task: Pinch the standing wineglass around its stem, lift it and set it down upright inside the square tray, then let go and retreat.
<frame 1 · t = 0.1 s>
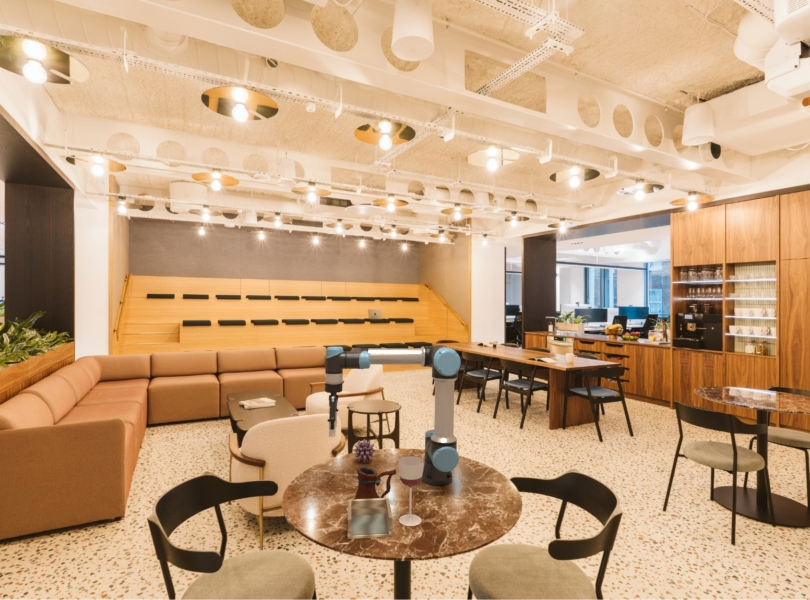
hand: (332, 431, 178), 28 cm above the table, fingers open, 13 cm apart
brown pitcher: (374, 504, 172), on the table
wineglass: (410, 520, 159), on the table
flower: (364, 462, 217), on the table
square tray: (369, 526, 154), on the table
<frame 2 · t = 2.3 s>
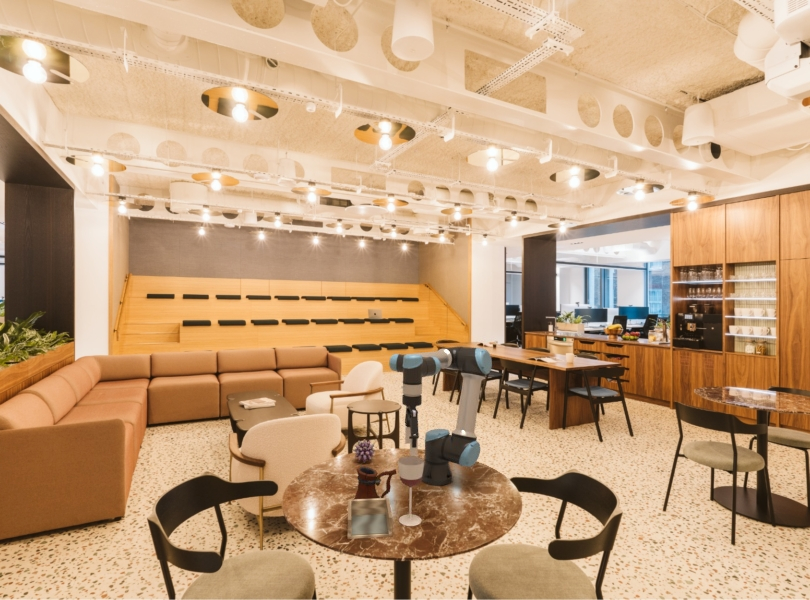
hand: (411, 449, 159), 27 cm above the table, fingers open, 13 cm apart
nothing on the table moved.
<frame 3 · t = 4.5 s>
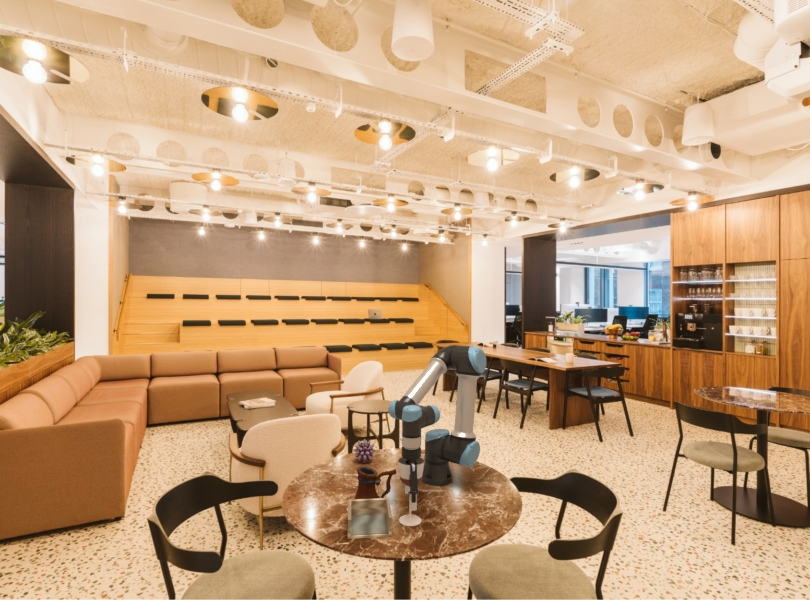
hand: (410, 501, 159), 7 cm above the table, fingers open, 13 cm apart
nothing on the table moved.
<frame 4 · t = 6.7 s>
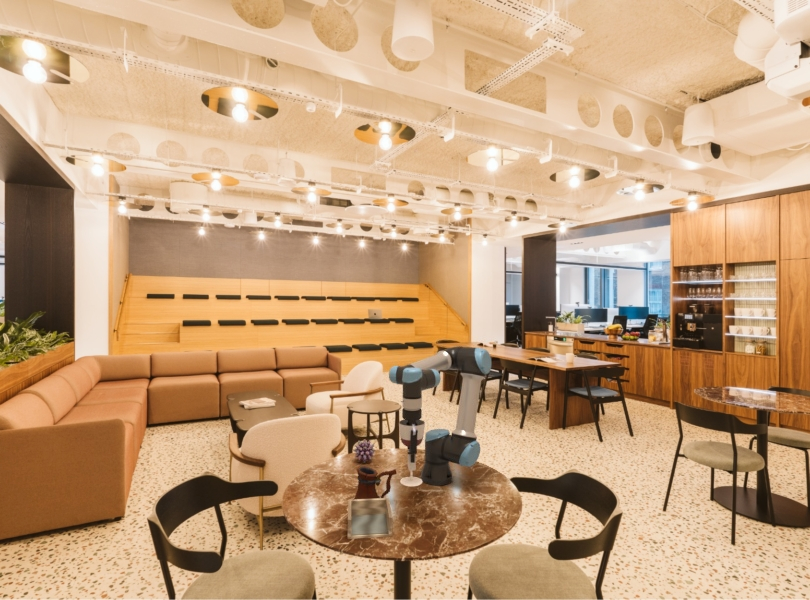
hand: (411, 468, 160), 20 cm above the table, fingers open, 2 cm apart
wineglass: (411, 481, 160), point 15 cm above the table, touching hand
everything else where it was.
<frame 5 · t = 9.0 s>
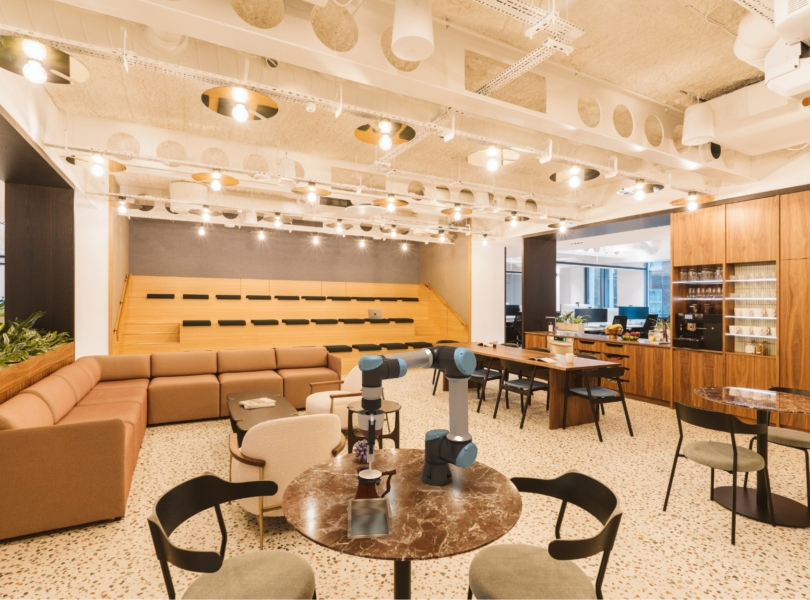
hand: (370, 460, 153), 25 cm above the table, fingers open, 2 cm apart
wineglass: (370, 474, 153), point 20 cm above the table, touching hand
everything else where it was.
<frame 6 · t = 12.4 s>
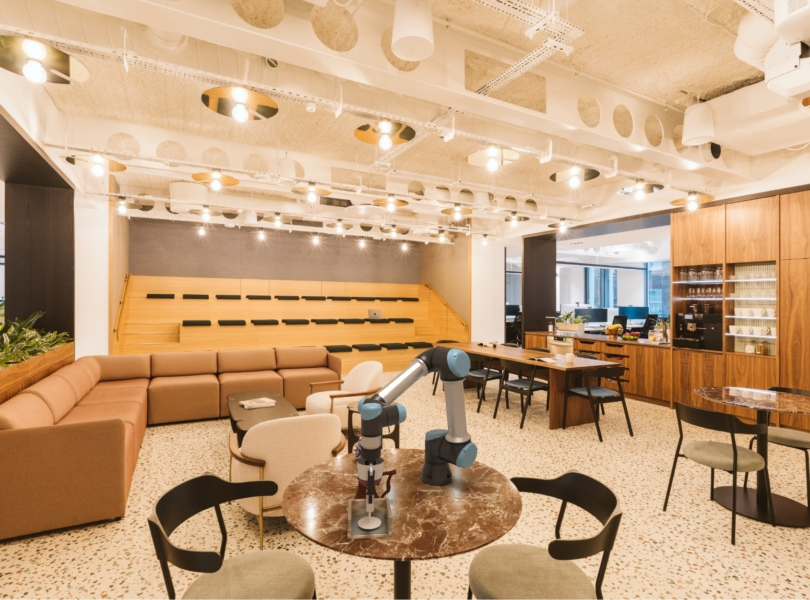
hand: (369, 509, 153), 7 cm above the table, fingers open, 2 cm apart
wineglass: (369, 523, 153), point 2 cm above the table, touching hand
everything else where it was.
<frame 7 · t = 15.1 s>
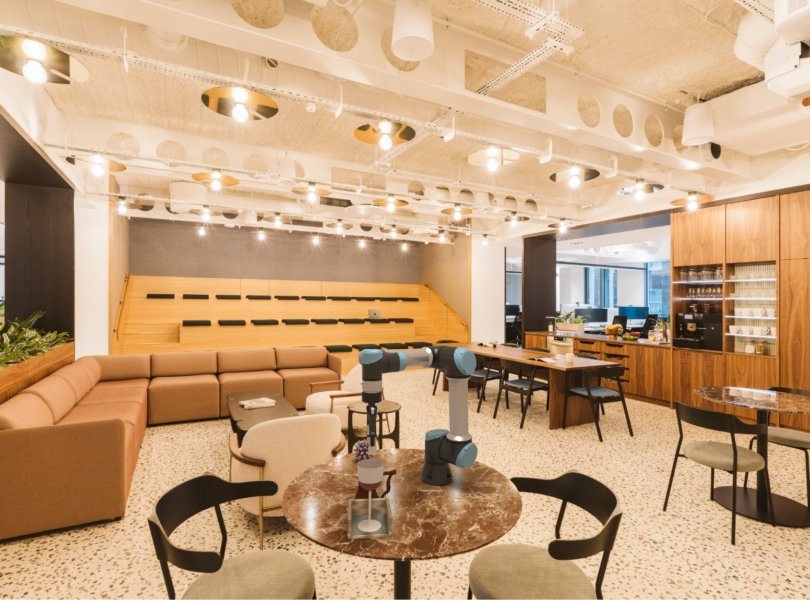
hand: (371, 447, 153), 30 cm above the table, fingers open, 13 cm apart
wineglass: (369, 526, 153), point 1 cm above the table, touching square tray
everything else where it was.
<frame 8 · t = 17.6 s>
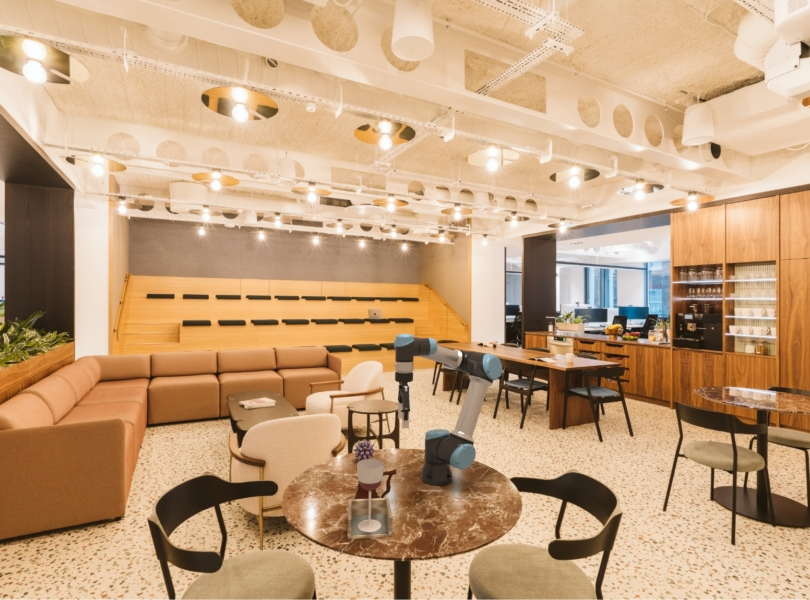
hand: (403, 423, 169), 35 cm above the table, fingers open, 13 cm apart
nothing on the table moved.
at the end: wineglass inside the target area on the square tray (0.8 cm from its centre), point 0.9 cm above the square tray's base; wineglass tilted 0°; the gripper is holding nothing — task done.
